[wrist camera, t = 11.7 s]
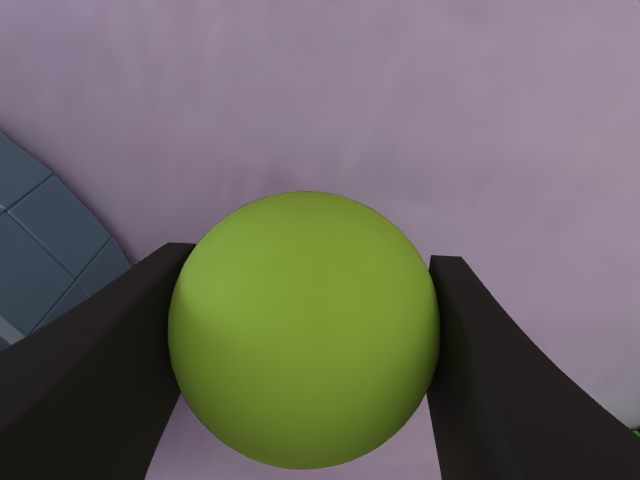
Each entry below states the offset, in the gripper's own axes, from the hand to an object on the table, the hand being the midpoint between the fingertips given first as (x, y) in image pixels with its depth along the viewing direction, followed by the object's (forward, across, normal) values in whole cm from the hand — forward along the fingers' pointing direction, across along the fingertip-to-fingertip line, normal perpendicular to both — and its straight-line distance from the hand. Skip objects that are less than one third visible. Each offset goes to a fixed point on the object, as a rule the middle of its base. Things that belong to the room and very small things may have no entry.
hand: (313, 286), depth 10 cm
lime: (-1, 0, 0) cm, 1 cm away
